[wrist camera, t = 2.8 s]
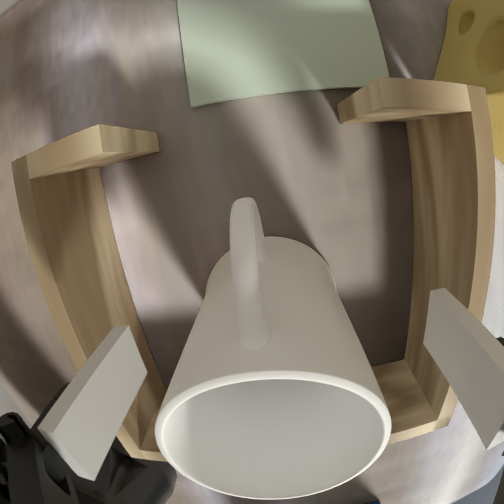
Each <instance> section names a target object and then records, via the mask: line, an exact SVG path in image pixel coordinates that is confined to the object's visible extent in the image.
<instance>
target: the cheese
mask: <svg viewBox="0 0 504 504" xmlns="http://www.w3.org/2000/svg"><path fill="white" fill-rule="evenodd" d="M433 80H434V81H443V82H452V83H459V84H466V85H472V86H478V87H484V88H485V90H486V96H487V101H488V107H489V114H490V121H491V129H492V137H493V148H494V156H495V157H496V158H498V159H499V160H500V161H501V162H502V163H503V164H504V0H452V2H451V3H450V5H449V7H448V13H447V26H446V33H445V38H444V42H443V45H442V50H441V54H440V58H439V61H438V65H437V68H436V72H435V75H434V78H433Z"/></svg>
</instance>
